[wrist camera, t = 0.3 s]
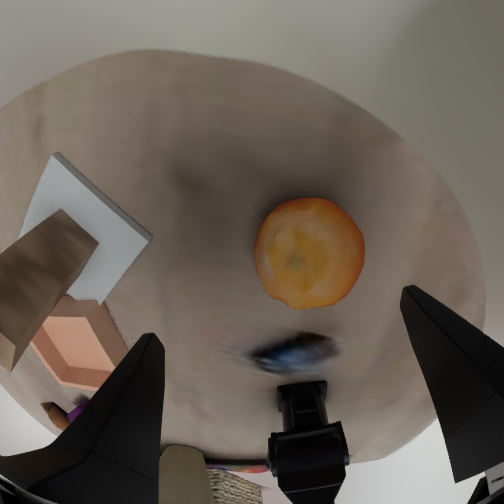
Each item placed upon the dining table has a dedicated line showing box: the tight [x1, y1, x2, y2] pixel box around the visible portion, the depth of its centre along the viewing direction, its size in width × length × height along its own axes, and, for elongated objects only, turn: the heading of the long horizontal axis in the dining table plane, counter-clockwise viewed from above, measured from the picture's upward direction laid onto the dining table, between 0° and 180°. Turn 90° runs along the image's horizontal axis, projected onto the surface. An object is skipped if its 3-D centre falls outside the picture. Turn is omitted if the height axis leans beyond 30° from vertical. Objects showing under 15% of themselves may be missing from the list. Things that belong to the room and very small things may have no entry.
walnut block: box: [0, 209, 99, 373], centre depth 17 cm, size 5×5×13 cm
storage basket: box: [207, 468, 263, 504], centre depth 50 cm, size 24×16×15 cm
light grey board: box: [18, 153, 152, 305], centre depth 23 cm, size 12×12×1 cm
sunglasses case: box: [40, 402, 70, 431], centre depth 44 cm, size 18×7×7 cm
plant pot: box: [159, 445, 214, 504], centre depth 39 cm, size 15×15×16 cm
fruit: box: [254, 198, 365, 309], centre depth 21 cm, size 8×8×8 cm
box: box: [30, 295, 129, 391], centre depth 28 cm, size 13×13×4 cm
